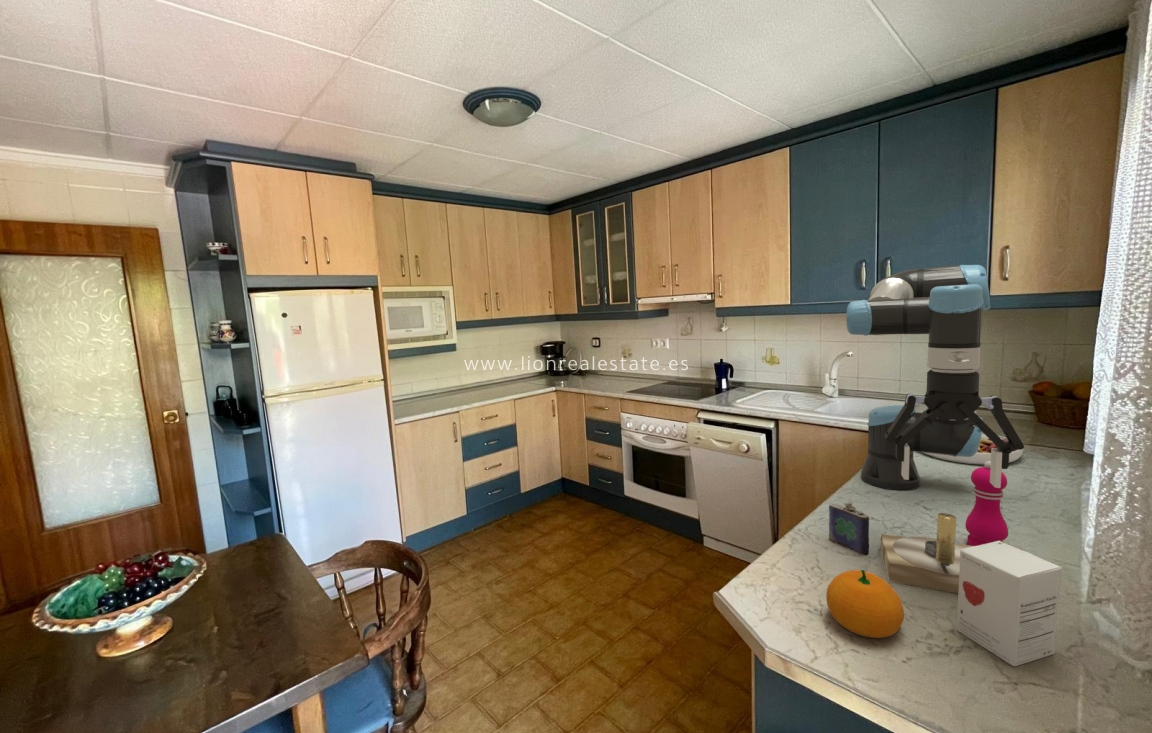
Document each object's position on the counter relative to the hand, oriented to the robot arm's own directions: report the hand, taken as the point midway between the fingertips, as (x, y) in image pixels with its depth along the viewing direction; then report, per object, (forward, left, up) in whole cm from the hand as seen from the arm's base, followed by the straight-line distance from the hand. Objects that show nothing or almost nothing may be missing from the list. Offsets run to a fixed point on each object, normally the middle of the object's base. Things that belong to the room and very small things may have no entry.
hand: (948, 481), depth 88 cm
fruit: (+16, -15, -22) cm, 32 cm away
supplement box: (+13, +5, -22) cm, 26 cm away
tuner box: (-6, 0, -22) cm, 23 cm away
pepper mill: (-22, +12, -22) cm, 33 cm away
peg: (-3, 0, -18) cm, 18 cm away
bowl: (-96, +26, -23) cm, 102 cm away
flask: (-12, -15, -22) cm, 30 cm away
